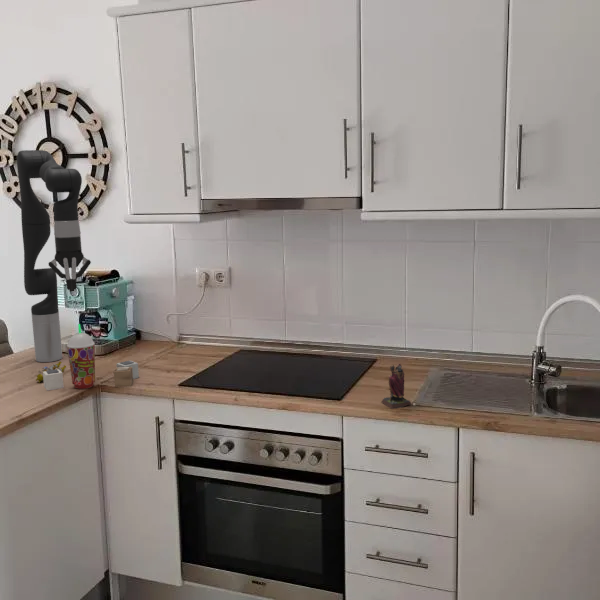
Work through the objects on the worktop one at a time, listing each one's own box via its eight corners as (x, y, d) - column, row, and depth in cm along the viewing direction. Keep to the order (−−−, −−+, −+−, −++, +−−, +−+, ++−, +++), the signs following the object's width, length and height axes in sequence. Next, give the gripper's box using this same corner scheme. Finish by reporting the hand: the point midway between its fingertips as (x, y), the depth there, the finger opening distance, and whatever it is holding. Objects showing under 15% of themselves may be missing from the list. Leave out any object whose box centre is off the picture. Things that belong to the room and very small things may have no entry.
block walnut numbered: (117, 382, 224) (116, 366, 223) (133, 381, 224) (132, 365, 223) (114, 387, 219) (113, 370, 218) (131, 386, 219) (129, 370, 218)
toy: (71, 365, 239) (51, 375, 224) (63, 377, 239) (42, 387, 225) (59, 356, 239) (38, 365, 224) (51, 368, 239) (29, 377, 225)
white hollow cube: (44, 386, 221) (42, 370, 220) (60, 384, 223) (59, 368, 223) (47, 390, 217) (45, 374, 216) (63, 388, 219) (62, 371, 218)
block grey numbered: (117, 378, 229) (116, 362, 228) (130, 375, 232) (129, 359, 231) (125, 381, 225) (124, 365, 224) (138, 377, 229) (137, 362, 228)
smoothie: (79, 391, 214) (74, 328, 211) (65, 386, 220) (60, 324, 217) (103, 385, 221) (98, 323, 217) (88, 380, 226) (84, 320, 223)
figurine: (412, 406, 195) (412, 364, 192) (391, 409, 192) (391, 367, 190) (401, 399, 201) (401, 359, 198) (380, 402, 198) (380, 361, 196)
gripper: (89, 233, 219) (93, 287, 222) (44, 235, 214) (49, 290, 218) (91, 235, 212) (95, 291, 215) (44, 237, 208) (49, 294, 211)
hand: (71, 291), depth 216 cm, fingers closed
